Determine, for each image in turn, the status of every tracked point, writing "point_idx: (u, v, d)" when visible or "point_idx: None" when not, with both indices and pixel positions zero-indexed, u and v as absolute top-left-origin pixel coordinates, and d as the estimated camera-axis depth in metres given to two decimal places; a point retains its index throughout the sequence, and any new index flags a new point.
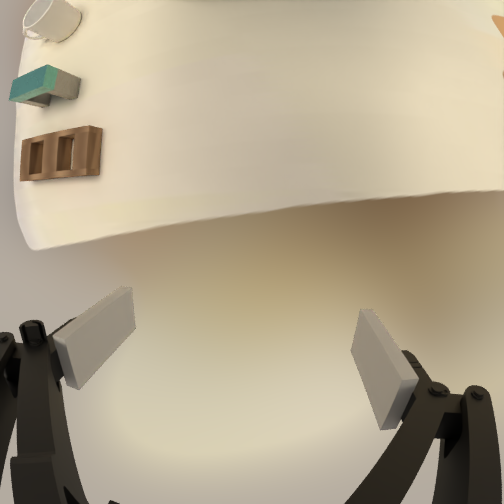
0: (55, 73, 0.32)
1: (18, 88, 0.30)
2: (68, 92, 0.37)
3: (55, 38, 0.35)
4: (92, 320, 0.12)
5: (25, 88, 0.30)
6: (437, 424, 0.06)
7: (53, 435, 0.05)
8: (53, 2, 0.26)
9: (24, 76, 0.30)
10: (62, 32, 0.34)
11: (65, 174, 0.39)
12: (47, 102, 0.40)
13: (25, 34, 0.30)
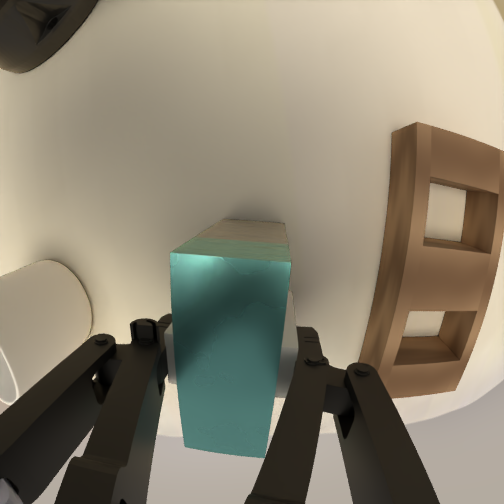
0: (215, 240, 0.12)
1: (233, 422, 0.11)
2: (277, 229, 0.16)
3: (78, 320, 0.19)
4: None
5: (254, 384, 0.10)
6: (323, 392, 0.08)
7: (132, 445, 0.06)
8: None
9: (186, 397, 0.11)
10: (66, 297, 0.19)
11: (502, 220, 0.14)
12: None
13: None
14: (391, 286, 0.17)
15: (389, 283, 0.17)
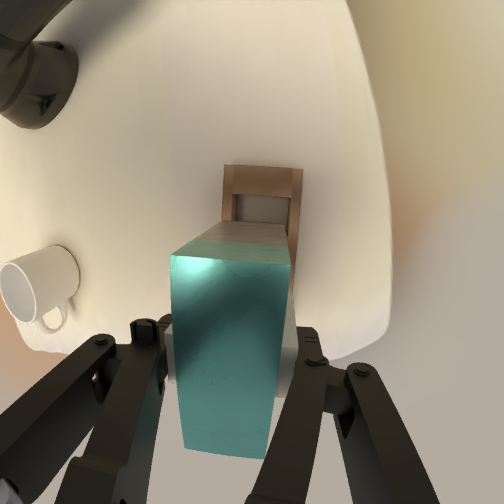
0: (215, 242, 0.12)
1: (233, 423, 0.11)
2: (277, 230, 0.16)
3: (71, 278, 0.35)
4: None
5: (254, 386, 0.10)
6: (323, 392, 0.08)
7: (132, 445, 0.06)
8: (12, 261, 0.27)
9: (186, 399, 0.11)
10: (65, 264, 0.35)
11: (296, 214, 0.29)
12: None
13: (51, 329, 0.33)
14: None
15: None
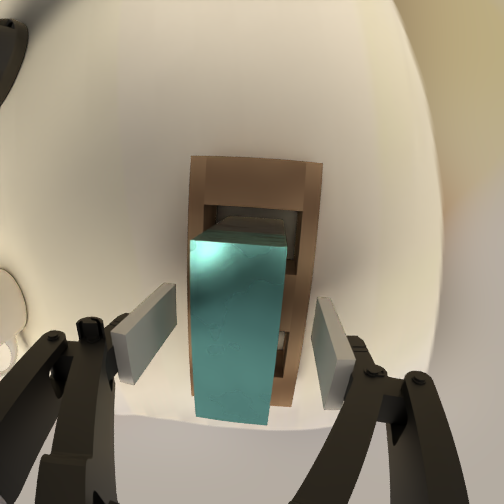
0: (225, 231, 0.14)
1: (239, 388, 0.13)
2: (277, 224, 0.19)
3: (14, 311, 0.23)
4: (146, 315, 0.13)
5: (258, 352, 0.13)
6: (378, 404, 0.08)
7: (94, 438, 0.06)
8: None
9: (200, 366, 0.13)
10: (5, 295, 0.23)
11: (311, 239, 0.18)
12: None
13: None
14: None
15: None
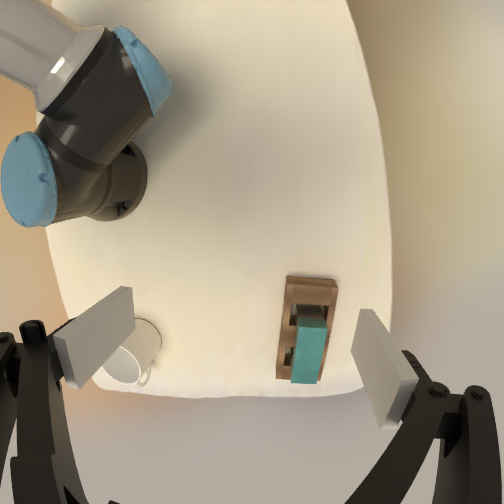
0: (305, 319, 0.41)
1: (308, 370, 0.40)
2: (318, 308, 0.45)
3: (157, 345, 0.50)
4: (92, 320, 0.12)
5: (316, 357, 0.40)
6: (437, 424, 0.06)
7: (53, 435, 0.05)
8: None
9: (296, 363, 0.40)
10: (153, 337, 0.50)
11: (331, 315, 0.44)
12: None
13: (143, 384, 0.48)
14: (280, 337, 0.47)
15: (280, 335, 0.48)
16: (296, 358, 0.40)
